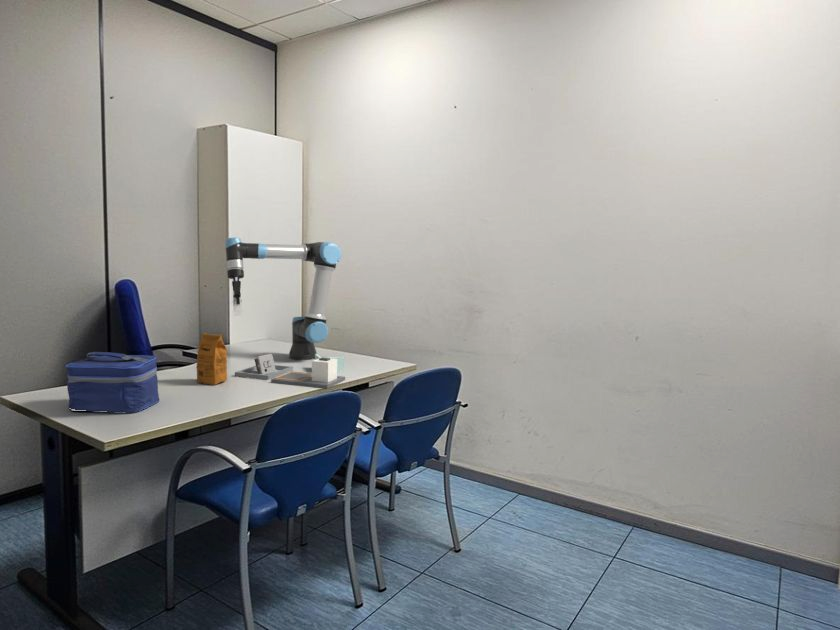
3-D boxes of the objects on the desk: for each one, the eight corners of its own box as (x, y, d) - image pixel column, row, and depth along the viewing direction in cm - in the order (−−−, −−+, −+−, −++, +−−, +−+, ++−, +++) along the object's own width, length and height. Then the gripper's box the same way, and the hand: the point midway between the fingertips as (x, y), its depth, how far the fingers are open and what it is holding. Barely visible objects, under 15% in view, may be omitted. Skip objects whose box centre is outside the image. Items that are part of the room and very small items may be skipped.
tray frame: (261, 367, 285) (261, 363, 285) (293, 370, 279) (293, 366, 279) (234, 376, 264) (234, 372, 264) (268, 379, 259) (268, 375, 258)
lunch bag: (52, 412, 201) (50, 356, 198) (87, 397, 222) (85, 346, 219) (139, 415, 201) (138, 358, 198) (166, 399, 222) (165, 348, 219)
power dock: (291, 374, 271) (291, 351, 269) (345, 379, 262) (345, 356, 261) (271, 382, 254) (271, 357, 252) (327, 388, 245) (327, 362, 244)
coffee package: (210, 378, 258) (209, 331, 256) (230, 381, 253) (229, 333, 250) (192, 382, 250) (191, 333, 247) (213, 386, 244) (212, 336, 242)
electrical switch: (262, 375, 266) (260, 356, 266) (254, 375, 269) (252, 356, 268) (276, 372, 275) (274, 353, 274) (268, 372, 277) (266, 353, 277)
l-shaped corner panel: (343, 371, 280) (343, 357, 279) (319, 373, 276) (319, 358, 275) (338, 367, 291) (338, 352, 290) (315, 368, 287) (315, 353, 286)
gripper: (227, 275, 283) (230, 317, 281) (227, 264, 260) (230, 310, 257) (243, 274, 285) (246, 315, 283) (244, 264, 262) (247, 309, 260)
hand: (238, 313), depth 270 cm, fingers open, 13 cm apart
